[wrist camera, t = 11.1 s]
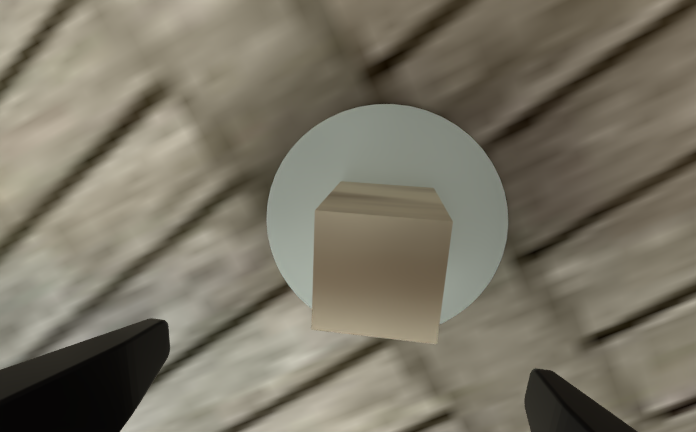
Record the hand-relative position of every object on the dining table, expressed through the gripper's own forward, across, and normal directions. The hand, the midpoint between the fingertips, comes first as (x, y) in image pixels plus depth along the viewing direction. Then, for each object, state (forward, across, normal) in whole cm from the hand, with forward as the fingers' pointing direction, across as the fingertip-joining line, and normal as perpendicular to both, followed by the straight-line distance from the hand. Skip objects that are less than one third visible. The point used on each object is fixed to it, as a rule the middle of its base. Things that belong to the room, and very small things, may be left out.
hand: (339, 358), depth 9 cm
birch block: (+10, -1, 0) cm, 10 cm away
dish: (+11, -1, 0) cm, 11 cm away
